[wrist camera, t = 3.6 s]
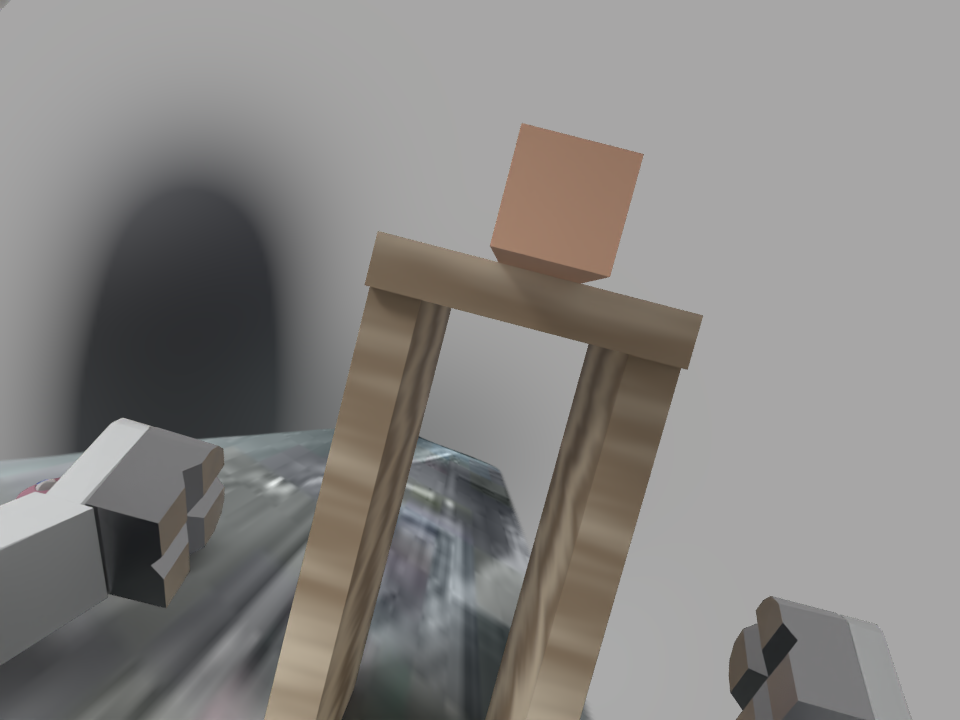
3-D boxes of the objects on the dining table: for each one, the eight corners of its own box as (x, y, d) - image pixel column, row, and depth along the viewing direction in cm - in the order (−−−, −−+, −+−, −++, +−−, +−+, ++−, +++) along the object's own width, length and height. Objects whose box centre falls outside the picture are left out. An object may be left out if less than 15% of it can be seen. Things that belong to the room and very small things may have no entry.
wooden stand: (515, 963, 29) (703, 315, 26) (220, 879, 29) (377, 231, 26) (516, 725, 45) (632, 308, 42) (325, 672, 45) (430, 256, 42)
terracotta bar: (609, 276, 18) (643, 154, 18) (489, 245, 18) (521, 123, 18) (558, 288, 40) (573, 233, 39) (504, 274, 40) (519, 219, 39)
